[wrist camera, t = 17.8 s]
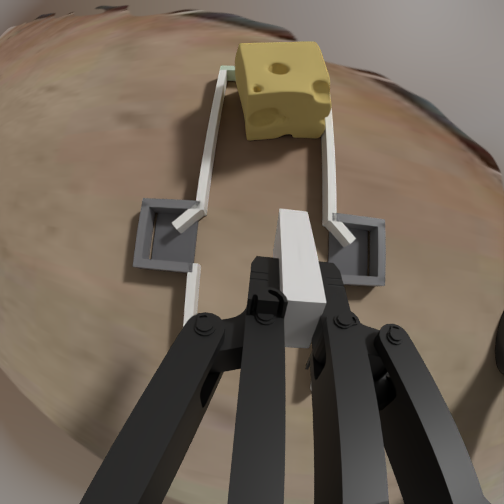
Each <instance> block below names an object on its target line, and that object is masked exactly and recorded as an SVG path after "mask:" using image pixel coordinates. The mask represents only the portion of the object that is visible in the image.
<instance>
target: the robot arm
mask: <svg viewBox="0 0 504 504" xmlns="http://www.w3.org/2000/svg"><path fill="white" fill-rule="evenodd" d="M311 341H312V348H313V350H312V353H311V355H310V357H309V359H308V362H307V364H306V368H305V369H308V368H309V366H310V372H311V388H312V407H313V432H314V504H389V500H388V484H387V472H386V462H385V452H384V448H385V450H386V453H387V456H388V458H389V461H390V464H391V466H392V469H393V472H394V475H395V477H396V480H397V483H398V486H399V489H400V492H401V495H402V497H403V500H404V503H405V504H491V503H490V502H489V501H488V500H487V499H486V498H485V497H484V496H483V493H482V489H481V486H480V483H479V481H478V478H477V475H476V472H475V469H474V467H473V464H472V462H471V459H470V456H469V454H468V452H467V449H466V447H465V444H464V442H463V440H462V437H461V435H460V433H459V430H458V428H457V426H456V424H455V422H454V420H453V417H452V415H451V413H450V411H449V409H448V407H447V405H446V403H445V401H444V399H443V397H442V395H441V393H440V391H439V389H438V387H437V385H436V383H435V381H434V380H433V378H432V376H431V374H430V372H429V370H428V368H427V367H426V365H425V363H424V361H423V359H422V358H421V356H420V354H419V352H418V351H417V349H416V347H415V346H414V344H413V342H412V340H411V339H410V337H409V335H408V334H407V333H406V331H405V330H404V329H403V328H401V327H400V326H398V325H395V324H386V325H384V326H383V327H382V328H381V329H380V330H377V329H374V328H371V327H367V326H365V325H363V324H361V323H360V321H359V319H358V317H357V316H356V315H355V314H354V313H353V312H351V311H350V307H349V303H348V299H347V295H346V291H345V287H344V284H343V280H342V276H341V273H340V270H339V269H338V268H337V266H336V265H335V264H334V263H330V262H319V261H318V257H317V252H316V247H315V243H314V238H313V234H312V229H311V225H310V221H309V216H308V212H305V211H297V210H288V209H279V215H278V222H277V229H276V236H275V243H274V250H273V258H270V257H260V256H257V257H256V258H255V259H254V260H253V262H252V263H251V273H250V283H249V292H248V301H247V307H246V309H245V310H244V312H243V313H241V314H240V315H238V316H236V317H233V318H230V319H223V320H221V319H220V317H218V316H216V315H214V314H212V313H206V312H205V313H198V314H196V315H194V316H192V317H191V318H190V319H189V320H188V321H187V322H186V324H185V325H184V327H183V329H182V330H181V332H180V333H179V335H178V337H177V338H176V340H175V342H174V343H173V345H172V346H171V348H170V350H169V351H168V353H167V355H166V356H165V358H164V359H163V361H162V363H161V364H160V366H159V368H158V369H157V371H156V373H155V374H154V376H153V378H152V379H151V381H150V383H149V384H148V386H147V388H146V389H145V391H144V393H143V394H142V396H141V398H140V399H139V401H138V403H137V404H136V406H135V408H134V409H133V411H132V413H131V414H130V416H129V418H128V419H127V421H126V423H125V425H124V426H123V428H122V430H121V431H120V433H119V435H118V436H117V438H116V440H115V442H114V443H113V445H112V447H111V449H110V450H109V452H108V454H107V456H106V457H105V459H104V461H103V463H102V465H101V466H100V468H99V470H98V471H97V473H96V475H95V477H94V478H93V480H92V482H91V484H90V486H89V487H88V489H87V491H86V493H85V495H84V496H83V498H82V500H81V502H80V504H162V502H163V500H164V498H165V496H166V494H167V492H168V490H169V488H170V485H171V483H172V481H173V479H174V477H175V475H176V473H177V471H178V469H179V467H180V465H181V463H182V461H183V459H184V457H185V454H186V452H187V450H188V448H189V446H190V444H191V442H192V440H193V438H194V435H195V433H196V431H197V429H198V427H199V425H200V423H201V420H202V418H203V416H204V414H205V412H206V410H207V407H208V405H209V403H210V401H211V399H212V397H213V394H214V392H215V390H216V388H217V385H218V383H219V381H220V379H221V377H222V374H223V372H225V371H230V370H235V369H241V372H240V382H239V392H238V403H237V413H236V423H235V433H234V443H233V453H232V463H231V473H230V484H229V494H228V504H284V475H285V347H294V348H309V346H310V344H311ZM496 363H497V366H498V369H499V371H500V372H501V373H503V374H504V313H503V315H502V318H501V321H500V325H499V329H498V333H497V340H496Z"/></svg>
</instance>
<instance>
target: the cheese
mask: <svg viewBox="0 0 504 504" xmlns="http://www.w3.org/2000/svg"><path fill="white" fill-rule="evenodd" d="M235 77H236V85H237V89H238V93H239V96H240V100H241V105H242V109H243V114H244V120H245V128H246V138H247V140H261V139H273V138H278V137H280V136H282V135H285V134H291V135H292V136H293V137H294V138H319V137H320V136H321V135H322V134H323V132H324V130H325V117H328V116H329V114H330V111H331V99H330V78H329V74H328V71H327V68H326V65H325V62H324V59H323V55H322V53H321V50H320V48H319V46H318V45H317V43H316V42H275V43H240V44H239V47H238V50H237V53H236V57H235Z"/></svg>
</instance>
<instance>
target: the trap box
mask: <svg viewBox="0 0 504 504" xmlns="http://www.w3.org/2000/svg"><path fill="white" fill-rule="evenodd" d="M227 81H236V77H235V66H221V67H220V72H219V76H218V81H217V85H216V90H215V94H214V99H213V104H212V109H211V114H210V119H209V124H208V130H207V135H206V141H205V146H204V152H203V158H202V164H201V170H200V177H199V183H198V190H197V197H196V201H193V200H173V199H148V198H143V201H142V206H141V212H140V218H139V224H138V230H137V237H136V244H135V252H134V260H133V267H137V268H141V269H150V270H160V271H169V272H180V273H188V274H187V284H186V296H185V309H184V324H183V327H184V325H185V324H186V322H187V321H188V320H189V319H190V318H191V317H192V316H194V315H196V314H197V308H198V295H199V283H200V272H201V265H199V264H197V263H194V256H195V246H196V237H197V229H198V220H199V219H201V218H202V217H203V216H207V207H208V199H209V192H210V184H211V177H212V170H213V163H214V156H215V150H216V143H217V137H218V131H219V125H220V119H221V113H222V107H223V102H224V96H225V91H226V85H227ZM321 144H322V226H325V227H326V228H327V229H328V231H329V253H328V262H330V263H334V264H335V265H336V266H337V268H338V269H339V270H340V273H341V276H342V280H343V284H344V285H356V286H385V260H386V247H385V220H384V219H377V218H370V217H363V216H355V215H348V214H340V213H336V171H335V149H334V134H333V120H332V109H331V111H330V114H329V116H328V117H325V130H324V132H323V134H322V135H321ZM155 213H158V216H157V222H156V229H155V236H154V243H153V251H152V259H149V255H150V247H151V240H152V232H153V226H154V219H155ZM368 231H370V264H369V276H367V258H368ZM310 390H311V391H312V388H311V385H310Z"/></svg>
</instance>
